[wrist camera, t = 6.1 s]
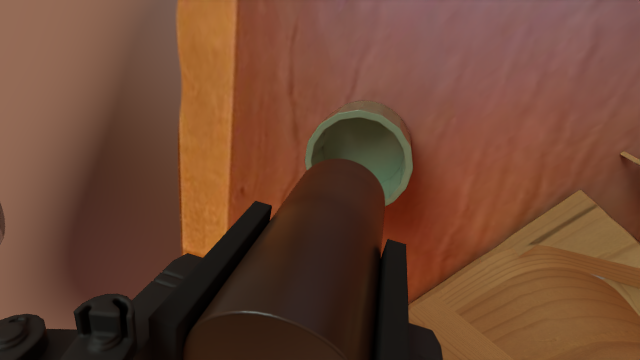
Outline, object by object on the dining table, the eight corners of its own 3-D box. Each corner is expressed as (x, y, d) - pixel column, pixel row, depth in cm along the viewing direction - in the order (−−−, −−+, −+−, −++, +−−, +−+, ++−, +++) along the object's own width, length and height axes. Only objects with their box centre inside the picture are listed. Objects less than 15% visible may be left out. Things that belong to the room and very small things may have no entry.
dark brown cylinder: (291, 224, 19) (180, 411, 10) (305, 147, 17) (181, 285, 7) (371, 248, 19) (343, 474, 9) (396, 171, 17) (394, 356, 7)
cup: (311, 175, 30) (297, 196, 26) (328, 90, 26) (315, 99, 22) (395, 198, 29) (394, 224, 25) (423, 113, 25) (427, 126, 21)
